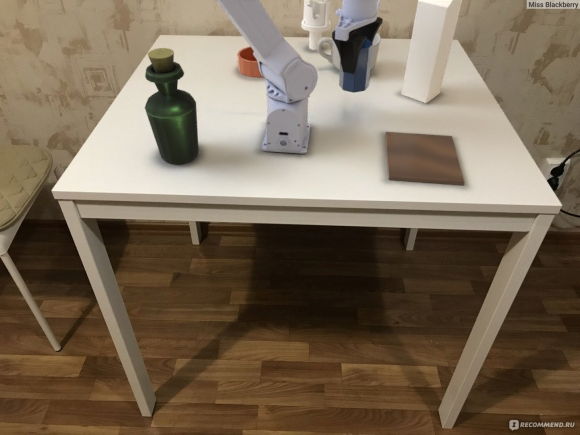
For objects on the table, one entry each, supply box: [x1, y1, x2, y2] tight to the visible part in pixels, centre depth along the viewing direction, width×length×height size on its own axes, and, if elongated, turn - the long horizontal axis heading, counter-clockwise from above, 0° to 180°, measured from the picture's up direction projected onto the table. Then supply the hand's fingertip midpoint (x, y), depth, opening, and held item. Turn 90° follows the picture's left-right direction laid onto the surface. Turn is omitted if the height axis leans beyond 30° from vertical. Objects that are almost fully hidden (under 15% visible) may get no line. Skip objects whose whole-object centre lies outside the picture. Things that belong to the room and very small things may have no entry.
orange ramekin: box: [236, 46, 264, 78], centre depth 104 cm, size 9×9×4 cm
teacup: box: [316, 32, 382, 72], centre depth 103 cm, size 14×11×8 cm
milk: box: [400, 0, 463, 104], centre depth 90 cm, size 6×6×22 cm
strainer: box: [300, 0, 332, 51], centre depth 109 cm, size 7×7×15 cm
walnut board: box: [384, 131, 465, 186], centre depth 79 cm, size 14×12×1 cm
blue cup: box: [338, 39, 373, 93], centre depth 83 cm, size 5×5×8 cm
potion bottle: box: [144, 47, 200, 165], centre depth 74 cm, size 8×8×18 cm
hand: (355, 65), depth 83 cm, fingers closed on blue cup, 5 cm apart
